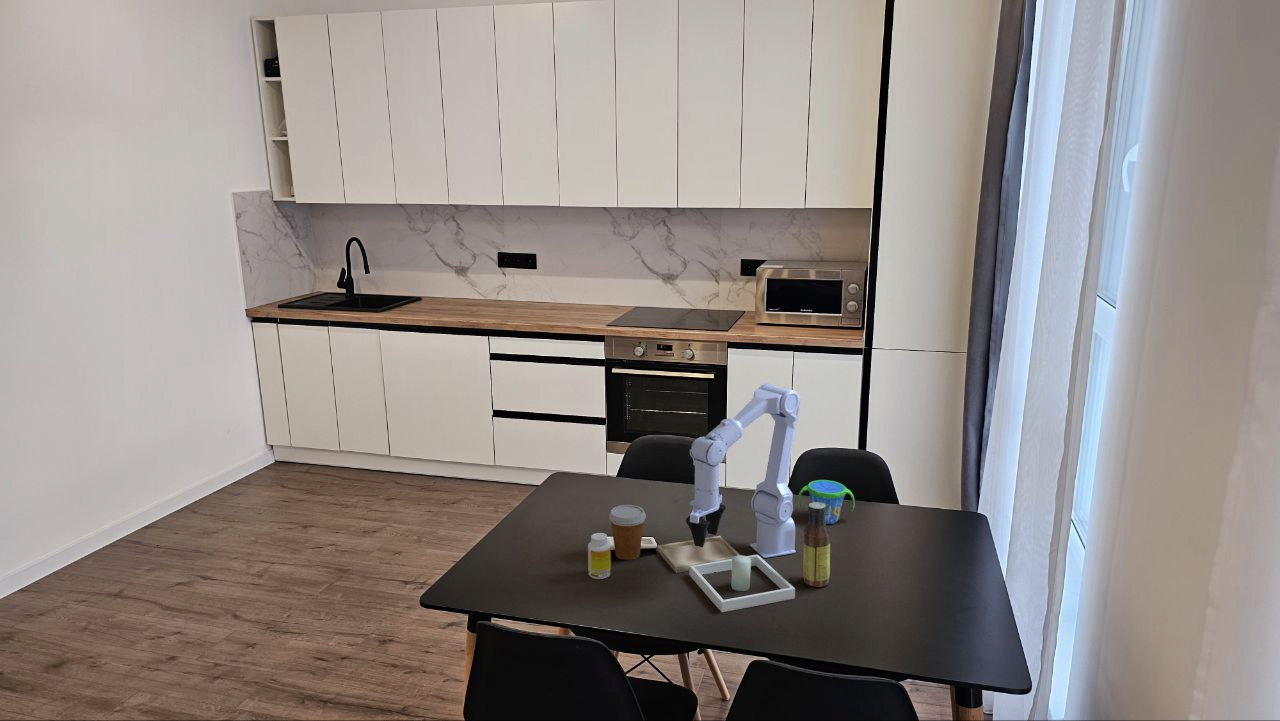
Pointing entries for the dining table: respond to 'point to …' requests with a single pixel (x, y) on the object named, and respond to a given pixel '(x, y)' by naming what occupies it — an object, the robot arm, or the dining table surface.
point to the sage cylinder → (741, 573)
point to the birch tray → (696, 553)
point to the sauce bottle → (816, 547)
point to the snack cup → (828, 497)
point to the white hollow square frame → (746, 601)
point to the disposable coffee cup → (627, 530)
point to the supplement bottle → (599, 556)
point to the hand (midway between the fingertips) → (705, 539)
